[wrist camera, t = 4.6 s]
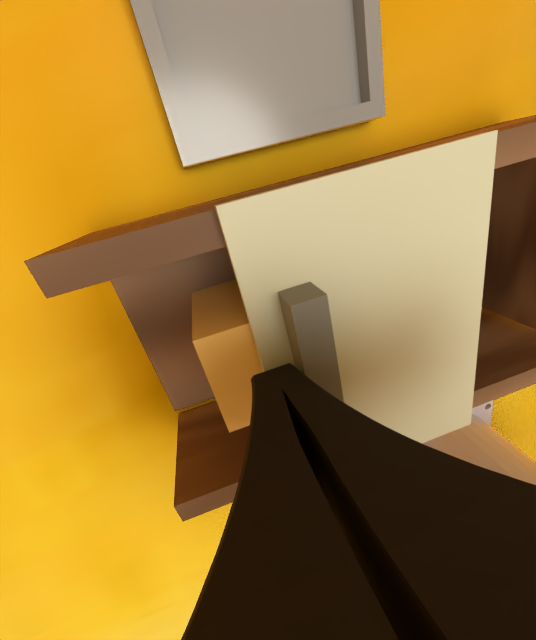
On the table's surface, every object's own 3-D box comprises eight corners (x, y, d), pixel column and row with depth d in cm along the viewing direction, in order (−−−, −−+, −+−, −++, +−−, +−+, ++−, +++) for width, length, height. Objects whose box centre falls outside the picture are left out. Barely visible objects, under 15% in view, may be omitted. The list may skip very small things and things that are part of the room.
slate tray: (369, 121, 13) (385, 115, 12) (184, 168, 12) (183, 166, 11) (347, -182, 9) (368, -230, 8) (82, -148, 8) (66, -198, 7)
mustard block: (290, 338, 16) (329, 396, 11) (217, 362, 15) (229, 432, 11) (273, 267, 14) (312, 302, 10) (191, 292, 14) (192, 341, 9)
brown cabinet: (482, 321, 19) (581, 365, 14) (185, 427, 17) (182, 521, 12) (501, 122, 14) (659, 87, 10) (90, 233, 12) (24, 261, 7)
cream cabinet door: (461, 416, 14) (495, 444, 12) (296, 481, 13) (310, 521, 11) (482, 132, 9) (544, 120, 7) (214, 205, 8) (220, 209, 6)
